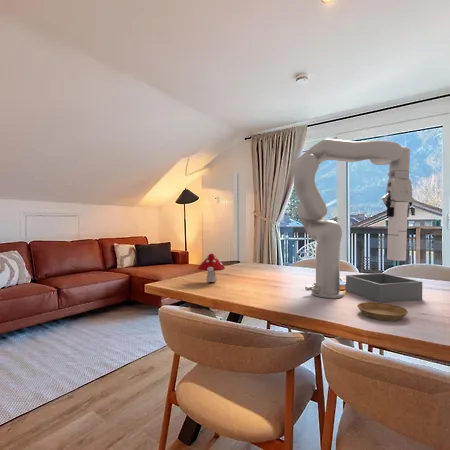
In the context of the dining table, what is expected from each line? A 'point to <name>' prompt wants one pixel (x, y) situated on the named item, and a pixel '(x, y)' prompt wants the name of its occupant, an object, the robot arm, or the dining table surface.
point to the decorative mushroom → (211, 267)
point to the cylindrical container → (397, 232)
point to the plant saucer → (382, 311)
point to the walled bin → (384, 287)
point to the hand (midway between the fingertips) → (397, 216)
